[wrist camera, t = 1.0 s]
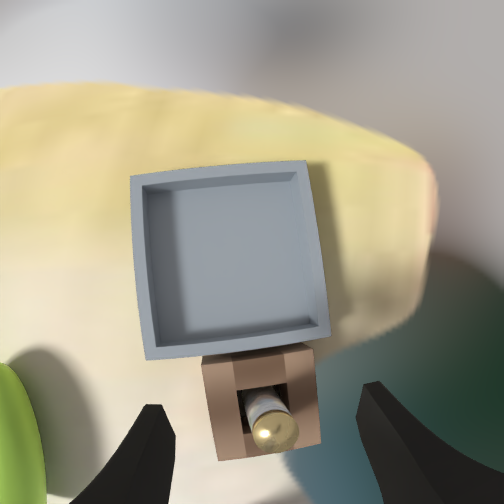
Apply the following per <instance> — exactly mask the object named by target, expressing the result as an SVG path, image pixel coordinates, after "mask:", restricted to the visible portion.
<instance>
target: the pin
mask: <svg viewBox="0 0 504 504" xmlns="http://www.w3.org/2000/svg"><path fill="white" fill-rule="evenodd" d="M242 401H243V404H244V408H245V411H246V414H247V418H248V421H249V424H250V428H251V431H252V434H253V438H254V441H255V443H256V445H257V446H258V447H259V448H260V449H261V450H263V451H265V452H267V453H281V452H284V451H286V450H288V449H290V448H291V447H292V446H293V445H294V444H295V443H296V441H297V439H298V437H299V427H298V424H297V423H296V421H295V420H294V418H293V417H292V415H291V414H290V412H289V411H288V409H287V408H286V406H285V405H284V403H283V402H282V400H281V399H280V397H279V396H278V394H277V393H276V391H275V390H274V388H273V387H272V386H271V385H270V386H264V387H257V388H250V389H243V391H242Z"/></svg>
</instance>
